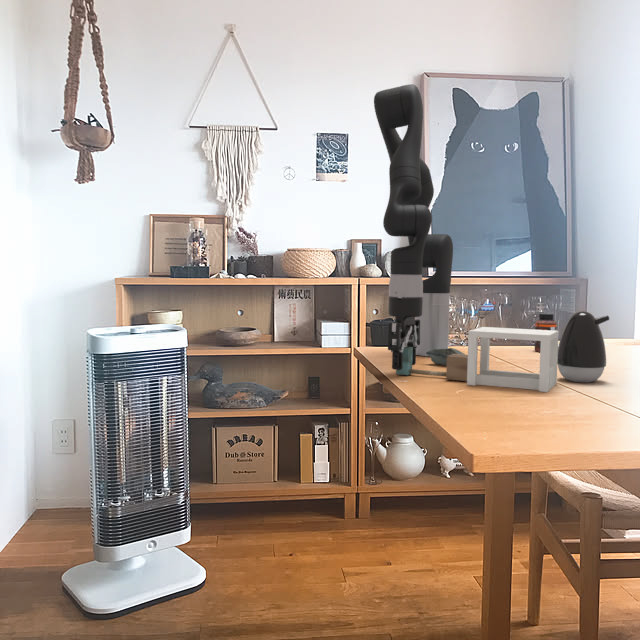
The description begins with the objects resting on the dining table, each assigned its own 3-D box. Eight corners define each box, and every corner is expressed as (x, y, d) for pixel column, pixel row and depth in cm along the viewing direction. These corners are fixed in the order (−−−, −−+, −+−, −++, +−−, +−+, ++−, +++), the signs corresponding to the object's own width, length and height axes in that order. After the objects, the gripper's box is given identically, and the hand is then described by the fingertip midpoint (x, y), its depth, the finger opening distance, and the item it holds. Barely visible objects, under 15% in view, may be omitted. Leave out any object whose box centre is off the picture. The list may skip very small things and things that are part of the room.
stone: (433, 365, 181) (420, 358, 172) (437, 351, 182) (424, 342, 173) (473, 373, 176) (462, 366, 167) (477, 358, 176) (465, 349, 168)
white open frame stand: (481, 377, 155) (483, 326, 154) (556, 383, 148) (558, 330, 147) (466, 384, 145) (468, 330, 144) (547, 392, 137) (549, 335, 136)
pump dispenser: (607, 386, 146) (610, 313, 145) (554, 382, 149) (557, 311, 148) (605, 378, 155) (608, 310, 154) (556, 375, 159) (558, 309, 158)
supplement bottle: (558, 353, 203) (560, 314, 202) (537, 352, 203) (539, 313, 202) (551, 350, 209) (553, 312, 208) (531, 350, 209) (533, 312, 208)
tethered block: (402, 371, 160) (402, 345, 160) (475, 378, 152) (476, 350, 152) (394, 374, 156) (394, 347, 155) (469, 381, 148) (470, 353, 147)
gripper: (401, 293, 164) (399, 362, 165) (377, 295, 151) (376, 369, 152) (431, 294, 160) (430, 364, 162) (410, 296, 148) (409, 372, 149)
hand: (404, 367), depth 157 cm, fingers open, 8 cm apart
